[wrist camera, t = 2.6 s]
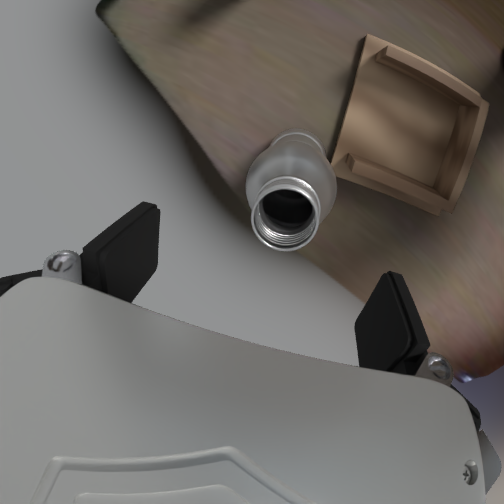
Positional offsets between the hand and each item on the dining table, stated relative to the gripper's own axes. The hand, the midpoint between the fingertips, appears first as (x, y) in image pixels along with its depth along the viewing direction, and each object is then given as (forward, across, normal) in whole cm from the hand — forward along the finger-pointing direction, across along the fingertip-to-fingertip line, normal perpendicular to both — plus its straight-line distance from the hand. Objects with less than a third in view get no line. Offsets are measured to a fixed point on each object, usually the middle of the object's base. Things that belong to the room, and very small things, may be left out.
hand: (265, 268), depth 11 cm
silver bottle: (+24, -1, -1) cm, 24 cm away
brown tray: (+24, -13, -9) cm, 28 cm away
